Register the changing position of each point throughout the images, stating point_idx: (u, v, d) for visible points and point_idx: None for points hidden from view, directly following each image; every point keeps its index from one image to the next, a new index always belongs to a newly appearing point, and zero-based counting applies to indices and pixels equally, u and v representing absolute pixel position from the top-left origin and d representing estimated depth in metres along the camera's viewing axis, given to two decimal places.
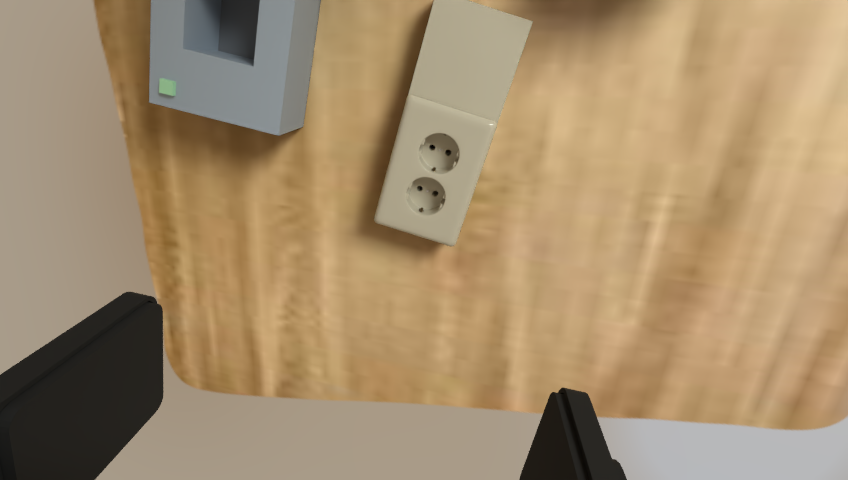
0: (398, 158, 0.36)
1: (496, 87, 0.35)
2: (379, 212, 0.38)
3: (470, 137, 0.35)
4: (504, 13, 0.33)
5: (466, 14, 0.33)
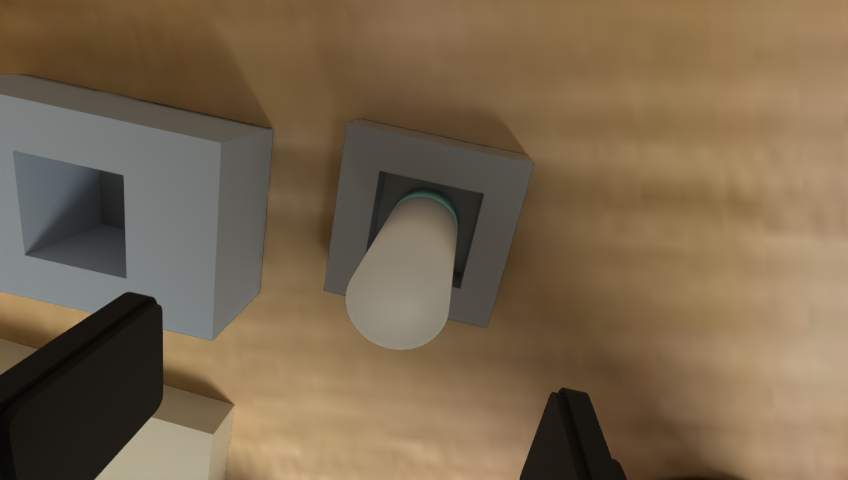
0: None
1: None
2: None
3: None
4: None
5: (196, 460, 0.30)
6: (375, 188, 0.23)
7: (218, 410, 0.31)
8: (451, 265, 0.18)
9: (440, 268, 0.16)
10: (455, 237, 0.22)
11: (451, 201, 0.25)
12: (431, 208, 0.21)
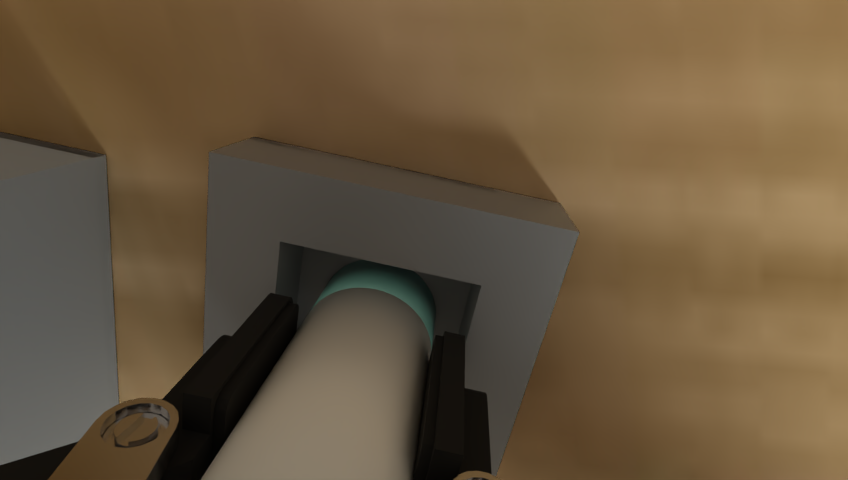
0: None
1: None
2: None
3: None
4: None
5: None
6: (275, 272, 0.12)
7: None
8: None
9: None
10: (424, 379, 0.11)
11: (422, 283, 0.14)
12: (375, 326, 0.11)
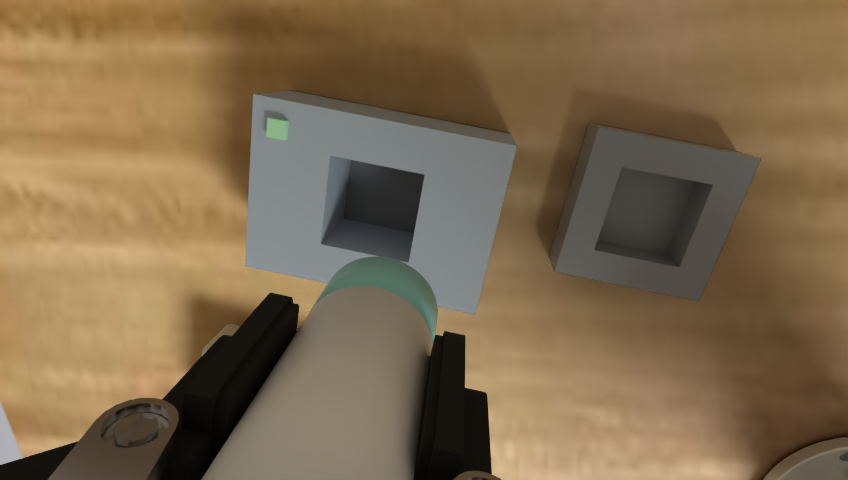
0: None
1: None
2: None
3: None
4: None
5: None
6: (615, 182, 0.27)
7: None
8: None
9: None
10: (426, 378, 0.11)
11: (424, 282, 0.14)
12: (376, 324, 0.10)
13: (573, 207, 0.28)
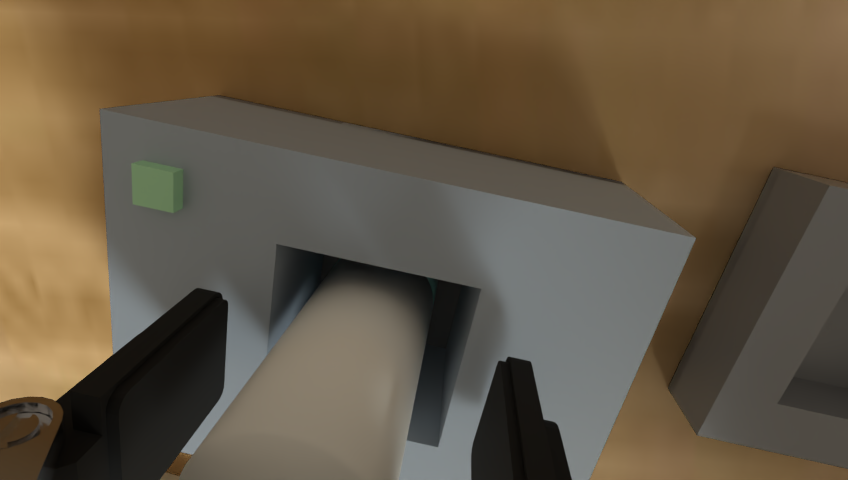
0: None
1: None
2: None
3: None
4: None
5: None
6: (843, 289, 0.14)
7: None
8: (407, 400, 0.10)
9: (373, 441, 0.08)
10: (426, 319, 0.13)
11: None
12: (386, 273, 0.13)
13: (748, 329, 0.15)
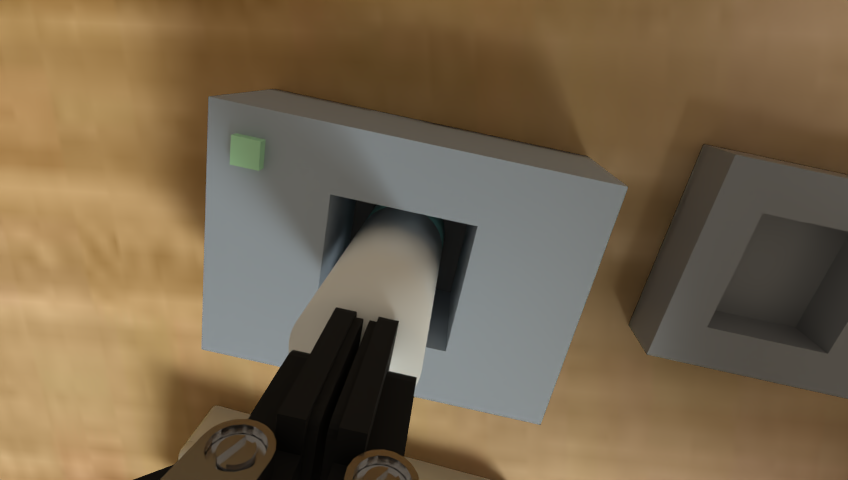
0: None
1: None
2: None
3: None
4: None
5: None
6: (750, 234, 0.18)
7: None
8: (429, 298, 0.14)
9: (412, 309, 0.12)
10: (438, 256, 0.18)
11: None
12: (408, 221, 0.18)
13: (682, 267, 0.19)
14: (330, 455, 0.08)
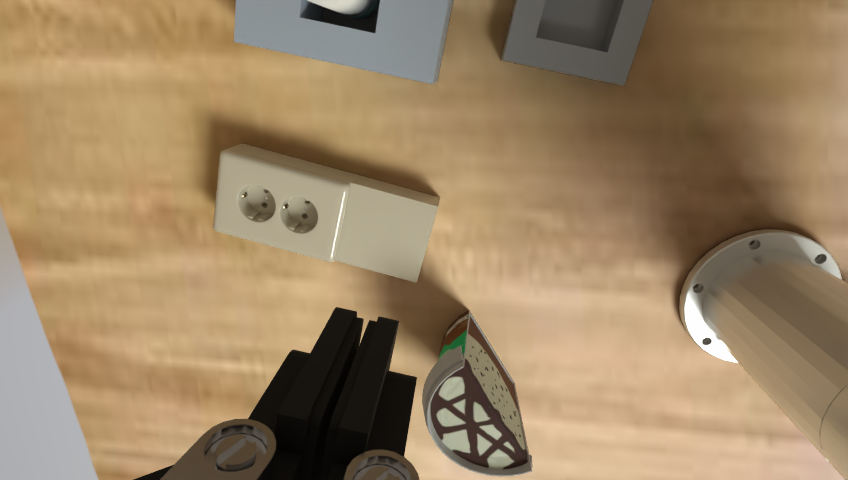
0: (288, 177, 0.37)
1: (364, 258, 0.40)
2: (231, 157, 0.37)
3: (317, 242, 0.39)
4: (421, 261, 0.40)
5: (420, 231, 0.39)
6: None
7: (431, 197, 0.40)
8: None
9: None
10: None
11: None
12: None
13: None
14: (330, 455, 0.08)
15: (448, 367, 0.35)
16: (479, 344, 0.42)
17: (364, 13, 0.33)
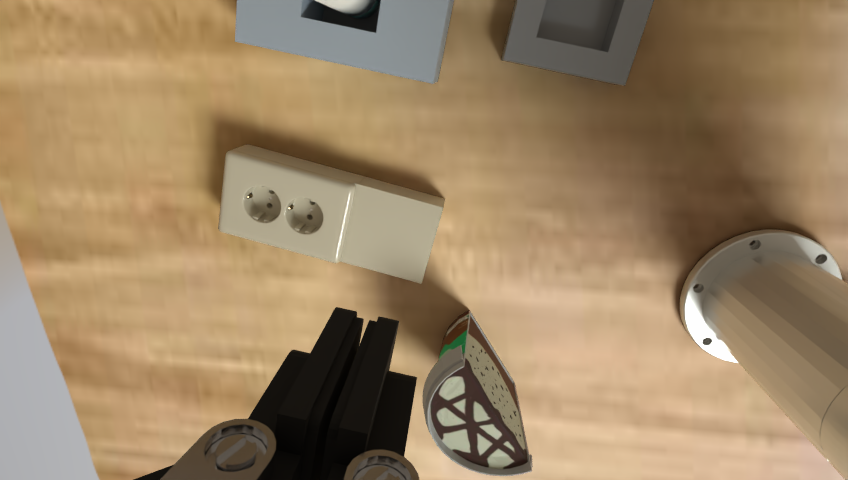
0: (294, 178, 0.37)
1: (368, 259, 0.40)
2: (237, 158, 0.37)
3: (322, 242, 0.39)
4: (426, 262, 0.40)
5: (425, 232, 0.39)
6: None
7: (436, 199, 0.40)
8: None
9: None
10: None
11: None
12: None
13: None
14: (330, 455, 0.08)
15: (448, 367, 0.35)
16: (479, 344, 0.42)
17: (365, 12, 0.33)
